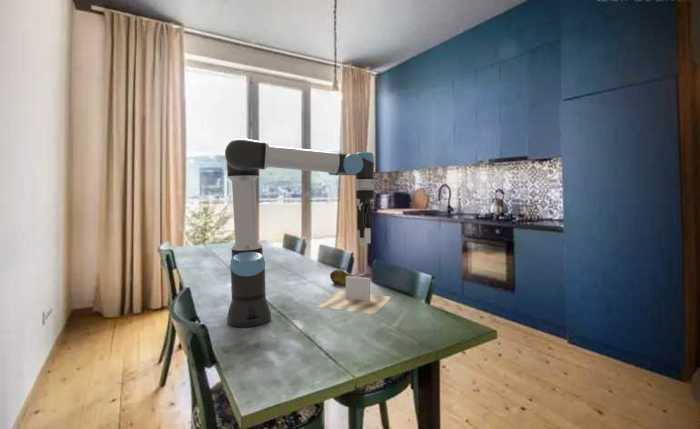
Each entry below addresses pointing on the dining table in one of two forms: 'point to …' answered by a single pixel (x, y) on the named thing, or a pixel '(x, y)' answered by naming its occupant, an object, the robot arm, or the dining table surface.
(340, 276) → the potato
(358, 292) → the tile
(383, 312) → the dining table surface
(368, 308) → the board
